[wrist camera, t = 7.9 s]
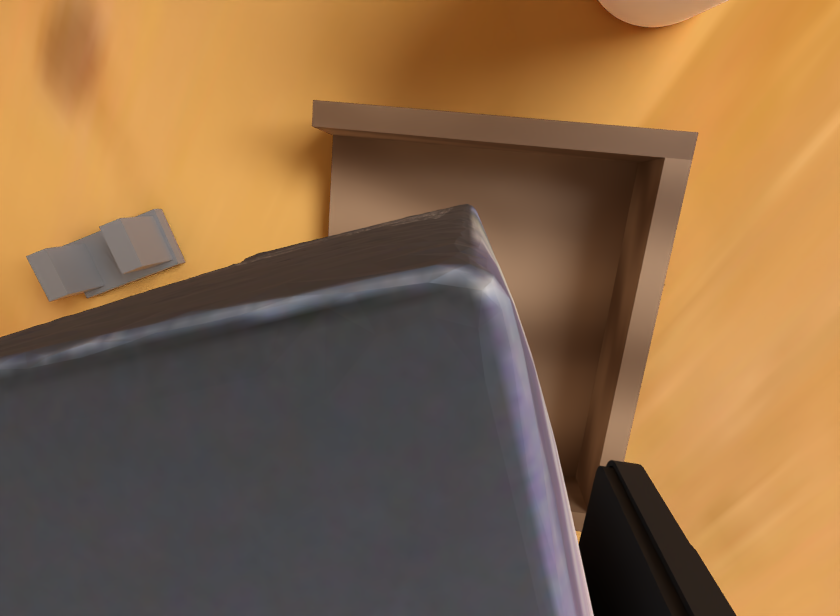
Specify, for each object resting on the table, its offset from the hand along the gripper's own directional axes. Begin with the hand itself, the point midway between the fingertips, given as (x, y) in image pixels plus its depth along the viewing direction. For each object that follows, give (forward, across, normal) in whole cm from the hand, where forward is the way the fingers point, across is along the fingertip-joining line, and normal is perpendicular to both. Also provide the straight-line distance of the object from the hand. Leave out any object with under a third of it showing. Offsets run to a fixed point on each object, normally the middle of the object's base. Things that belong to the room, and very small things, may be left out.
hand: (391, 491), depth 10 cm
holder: (+16, -2, 0) cm, 16 cm away
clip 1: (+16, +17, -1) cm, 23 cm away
